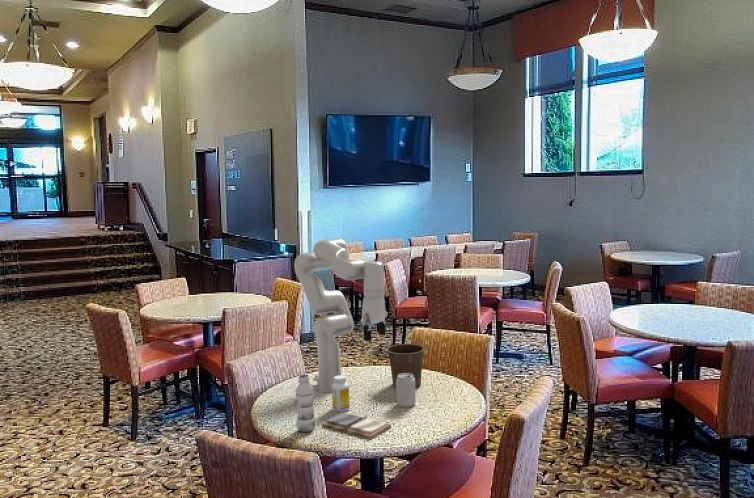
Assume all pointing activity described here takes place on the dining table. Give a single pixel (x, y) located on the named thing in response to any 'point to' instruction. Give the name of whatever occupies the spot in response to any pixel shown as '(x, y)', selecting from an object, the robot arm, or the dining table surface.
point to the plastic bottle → (305, 405)
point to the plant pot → (406, 361)
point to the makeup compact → (356, 425)
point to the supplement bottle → (340, 394)
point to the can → (405, 390)
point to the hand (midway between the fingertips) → (374, 337)
